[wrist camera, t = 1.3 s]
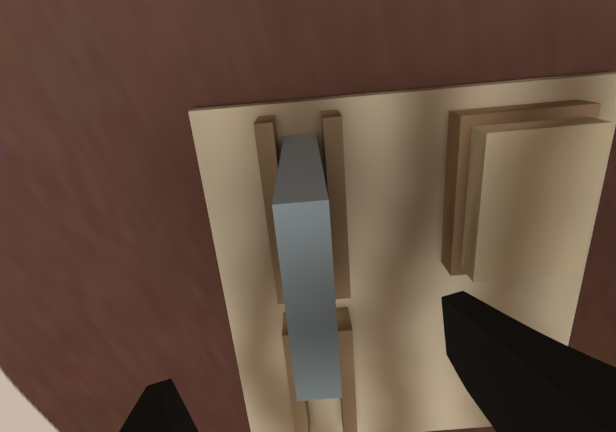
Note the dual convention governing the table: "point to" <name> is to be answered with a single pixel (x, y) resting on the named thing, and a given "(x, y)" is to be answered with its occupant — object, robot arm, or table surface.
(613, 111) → the rack
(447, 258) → the plate
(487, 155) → the offcut top
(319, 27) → the table surface
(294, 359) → the grey blue slab
